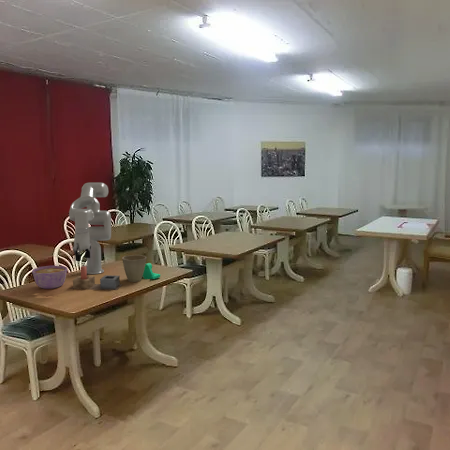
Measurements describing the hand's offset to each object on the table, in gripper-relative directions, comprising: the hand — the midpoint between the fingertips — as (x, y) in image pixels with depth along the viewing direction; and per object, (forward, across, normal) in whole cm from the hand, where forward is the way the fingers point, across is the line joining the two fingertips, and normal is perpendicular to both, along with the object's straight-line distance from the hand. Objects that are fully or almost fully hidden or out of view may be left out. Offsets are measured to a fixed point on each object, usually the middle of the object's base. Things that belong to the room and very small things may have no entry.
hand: (82, 259), depth 278 cm
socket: (+17, -5, +15) cm, 23 cm away
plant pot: (+18, -24, +21) cm, 37 cm away
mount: (+17, -1, 0) cm, 17 cm away
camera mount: (+18, -36, +26) cm, 48 cm away
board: (+18, -3, +7) cm, 20 cm away
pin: (+17, -1, 0) cm, 17 cm away
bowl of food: (+18, +5, -20) cm, 27 cm away
